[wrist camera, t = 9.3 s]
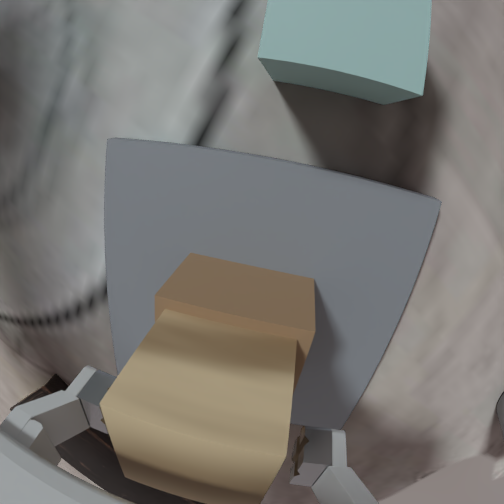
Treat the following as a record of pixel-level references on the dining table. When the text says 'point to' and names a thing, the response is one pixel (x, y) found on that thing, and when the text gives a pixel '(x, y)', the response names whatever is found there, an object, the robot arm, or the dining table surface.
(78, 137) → the dining table surface
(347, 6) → the teal cube
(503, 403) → the cup
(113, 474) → the hardcover book
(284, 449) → the oak cube
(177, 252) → the foundation
